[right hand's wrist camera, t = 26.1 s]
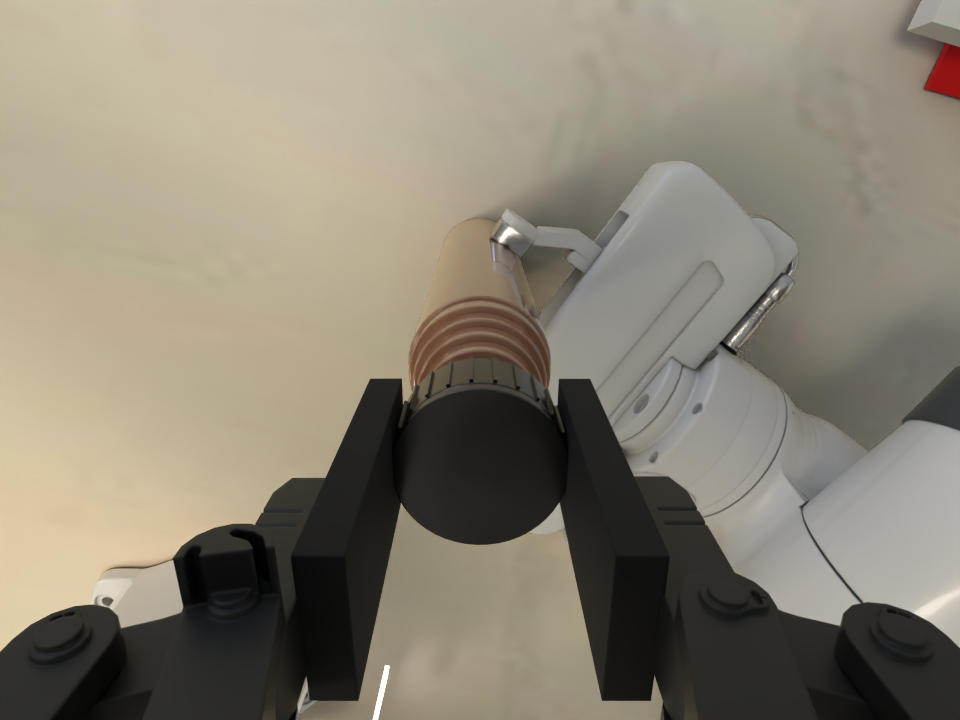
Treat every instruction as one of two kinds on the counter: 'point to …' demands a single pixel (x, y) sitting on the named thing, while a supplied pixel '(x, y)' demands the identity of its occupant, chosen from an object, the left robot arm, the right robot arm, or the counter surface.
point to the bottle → (478, 308)
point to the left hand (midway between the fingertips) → (463, 272)
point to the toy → (948, 18)
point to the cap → (480, 452)
